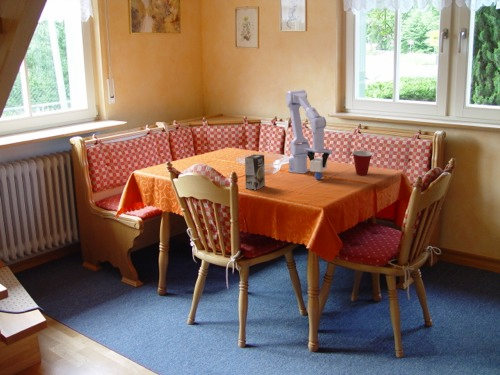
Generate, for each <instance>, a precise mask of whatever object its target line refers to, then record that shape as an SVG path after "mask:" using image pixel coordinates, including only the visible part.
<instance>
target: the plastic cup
mask: <svg viewBox="0 0 500 375" xmlns="http://www.w3.org/2000/svg"><path fill="white" fill-rule="evenodd" d="M351 152H352V155H353V161H354V162H353V163H354V169H355V175H357V176H367V175H368V174H369V173H368V172H369V168H370V165H371V159H372V156H373V154H374V153H373V152H371V151H368V150H353V151H351Z"/></svg>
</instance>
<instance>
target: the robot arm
mask: <svg viewBox="0 0 500 375" xmlns="http://www.w3.org/2000/svg"><path fill="white" fill-rule="evenodd" d="M285 99H286V100H285V101H286V105H287V108H289V113H290V114H289V115H290V119H291V121H290V122H291V126H292V134H293V139H292V140H291V141H290V143H289V144H290V147H289V150H290V154H291V155H290V156H289V159H288V173H295V174H306V173H308V172H310V168H308V160H309V162H310V161H311V160H313V159H315V154H321V158H322V159H323V168H324V167H325V166H326V162H327V163H328V159H329V157H330V155H332V154H333V149H328V148H325V128H326V126H327V120H326V118H325V116H322V115H320V114H319V112H318V111H317V109H316V108H315V107H313V106H312V105H311V104H310V102H309V100H308V94H307V92H306V90H305V89H300V90H299V89H298V90H287V92H286V95H285ZM300 107H302V108H303V110H305V113H304V114H305V116H306V118H307V119H308V121H310V128H311V132H312V147H311V146H310V143H309V140H308V139H307V138H306V137H305V136H304V132H303V125H302V120H301V114H300Z"/></svg>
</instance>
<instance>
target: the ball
mask: <svg viewBox="0 0 500 375" xmlns="http://www.w3.org/2000/svg"><path fill="white" fill-rule="evenodd" d="M314 178H315V180H322V178H323V173H322V171H321V172H315V174H314Z"/></svg>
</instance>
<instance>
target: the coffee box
mask: <svg viewBox="0 0 500 375" xmlns="http://www.w3.org/2000/svg"><path fill="white" fill-rule="evenodd" d="M244 168H245V169H244V171H245V172H244V173H245V174H244V176H245V189H246V188H248V189H247V190H252V189H254V190H253V191H257V190H259V189H261V188H264V187H265V186H266V171H265V169H266V168H265V154H255V153H253V154H251V155H249V156H246V157H244ZM263 186H264V187H263ZM256 189H257V190H256Z"/></svg>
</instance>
